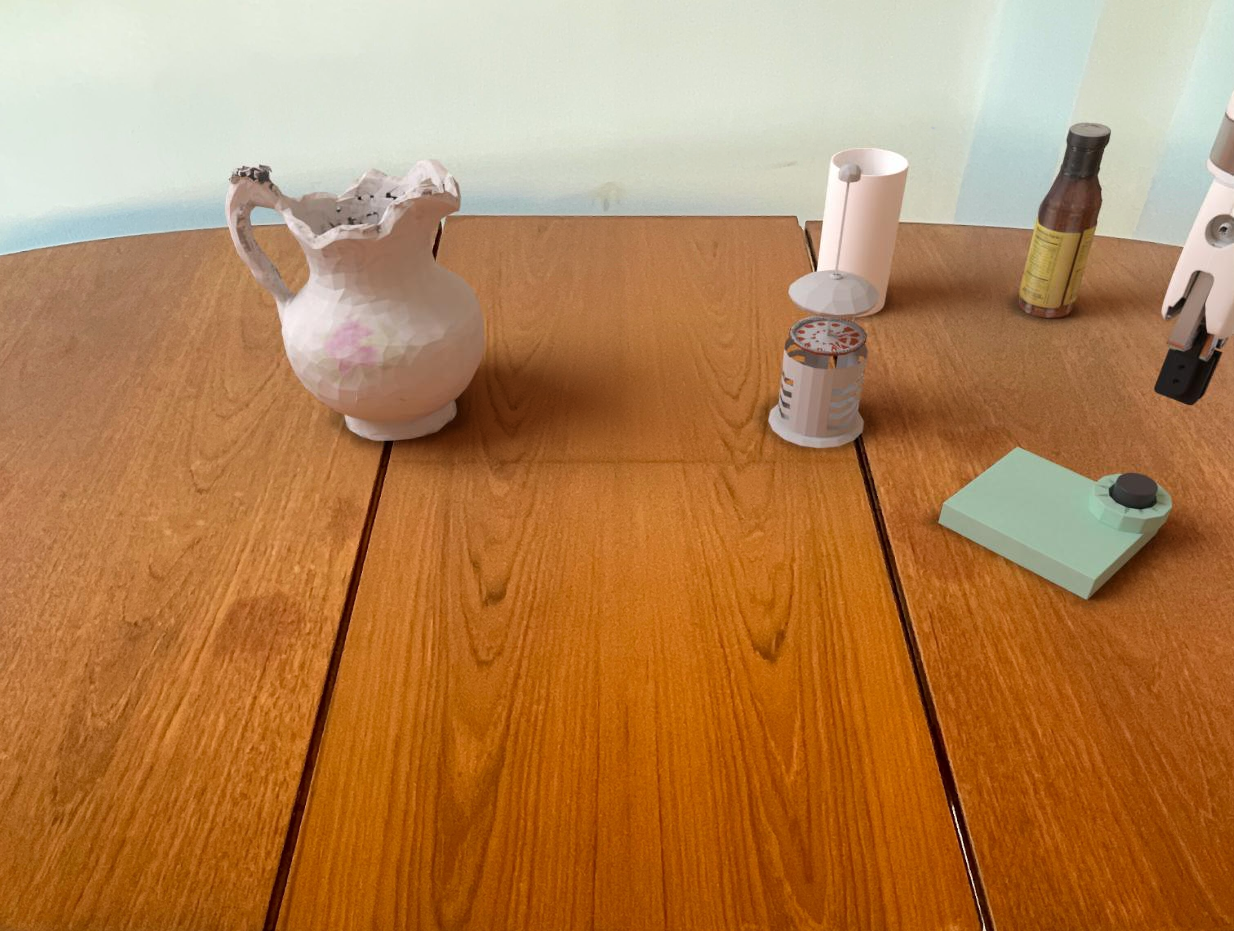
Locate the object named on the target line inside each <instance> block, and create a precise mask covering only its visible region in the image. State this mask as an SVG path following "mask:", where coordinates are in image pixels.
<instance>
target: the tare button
mask: <svg viewBox="0 0 1234 931" xmlns="http://www.w3.org/2000/svg"><path fill="white" fill-rule="evenodd" d="M1121 474H1122V475H1120V476H1119V477H1118V478H1117V480H1116V483H1115V485H1114V488H1113V490H1112V493H1111V496H1112V498H1113V500H1114V501H1115V502H1116V503H1118V504H1120V505H1122V506H1125V507H1127V508H1132V509H1139V510H1142V509H1146V508H1148V507H1150V506H1151V504H1152V502H1153V500H1154V497H1155V495H1156V493H1157V491H1158V486H1157V484H1158V483H1157V482H1156V481H1155V480H1154V479H1153V478H1151V477H1149V476H1147V475H1145V474H1143V473H1138V472H1124V473H1121ZM1156 483H1157V484H1156Z"/></svg>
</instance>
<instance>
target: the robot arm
mask: <svg viewBox="0 0 1234 931" xmlns="http://www.w3.org/2000/svg"><path fill="white" fill-rule="evenodd" d="M1206 169H1207V170H1208V171H1209V173H1210V174H1212V176H1213V177H1214V178H1213V181H1212V183H1211V184H1210V187H1209V189H1208V191H1207V193H1206V196H1205V198H1204V200H1203V202H1202V204H1201V206H1200V207H1199V209H1198V210H1199V211H1198V214H1197V216H1196V218H1195V220H1194V222H1193V225H1192V227H1191V229H1190V232H1189V234H1188V236H1187V238H1186V241H1185V243H1184V246H1183V248H1182V251H1181V253H1180V256H1179V258H1178V260H1177V263H1176V266H1175V268H1174V271H1173V273H1172V276H1171V278H1170V282H1169V284H1168V286H1167V290H1166V292H1165V296H1164V299H1163V302H1162V305H1161V306H1162V307H1161V310H1160V311H1161V317H1162V319H1163V320H1164V321H1166V322H1169V321H1171V320H1173V319H1174V318H1176V317H1177V319H1176V321H1175V324H1174V326H1173V328H1172V330H1171V332H1170V335H1169V336H1168V339H1167V340H1166V344H1165V346H1166V347H1169V348H1168V351H1167V353H1166V356H1165V359H1164V361H1163V364H1162V366H1161V368H1160V371H1159V374H1158V376H1157V378H1156V381H1155V383H1154V387H1153V390H1154V392H1155V393H1156V394H1158V395H1161V396H1163V397H1166V398H1168V399H1171V400H1173V401H1176V402H1179V403H1182V404H1184V405H1187V406H1195V404H1196V403H1197V402H1198V401H1199V400H1201V399H1202V398H1203V397H1204V396H1205V395H1206V392H1207V390H1208V387H1209V385H1210V383H1211V380H1212V378H1213V376H1214V373H1215V372H1216V369H1217V366H1218V364H1219V362H1220V359H1221V357H1222V355H1223V353H1224V352H1223V351H1221V350H1223V349H1224V347H1225V345H1227V343H1228V341H1229V338H1230V337H1232V336H1234V89H1233V90H1232V92H1231V95H1230V98H1229V100H1228V104H1227V107H1226V109H1225V112H1224V115H1223V117H1222V120H1221V123H1220V125H1219V128H1218V131H1217V134H1216V137H1215V140H1214V142H1213V145H1212V148H1211V150H1210V153H1209V155H1208V158H1207V161H1206Z"/></svg>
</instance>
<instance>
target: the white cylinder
mask: <svg viewBox="0 0 1234 931" xmlns="http://www.w3.org/2000/svg"><path fill="white" fill-rule="evenodd" d="M851 163H853V164H856V165H858V166H859V168H860V169H861V178H860V180H859V181H858V182H852V183H850V185H849V192H848V199H847V206H846V214H845V221H844V228H843V235H842V243H841V250H840V257H839V264H838V270H840V271H845V272H849V273H852V274H855V275H859V276H861V277H863V278H864V279H865V280H867V281H868V282H869V283H871V284H872V285H873V286H874V287H875V288H876V290H877V291H878V293H879V300H878V303H877V304H876V306H875V307H874V308H872V309H871V310H870V311H869V312H867V313H865V314H862V315H859V316H856V317H855V318H860V317H861V318H862V317H866V316H867V317H868V316H872V315H874V314H876V313H878V312H880V311H881V310H882V309H883V308H884V306H885V303H886V297H887V290H888V286H889V280H890V274H891V268H892V263H893V262H892V261H893V258H894V251H895V246H896V241H897V234H898V230H899V224H900V218H901V212H902V206H903V202H904V194H905V191H906V190H905V189H906V183H907V177H908V172H909V161H908V159H907V158H906V157H905V156H903V155H901V154H900V153H897V152H894V151H891V150H888V149H882V148H873V147H858V148H857V147H856V148H849V149H844V150H842V151H839V152H837V153H834V155H832V156H831V159H830V163H829V171H828V178H827V188H826V194H825V201H824V202H825V204H824V209H823V210H824V211H823V219H822V227H821V235H820V243H819V253H818V258H817V266H816V267H817V268H816V272H817V271H826V270H835V268H836V261H837V254H838V246H839V239H840V232H841V224H842V217H843V210H844V202H845V195H846V188H847V182H843V181H841V180H839V179H838V173H839V170H840V168H841V167H842V166H843V165H845V164H851Z"/></svg>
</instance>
